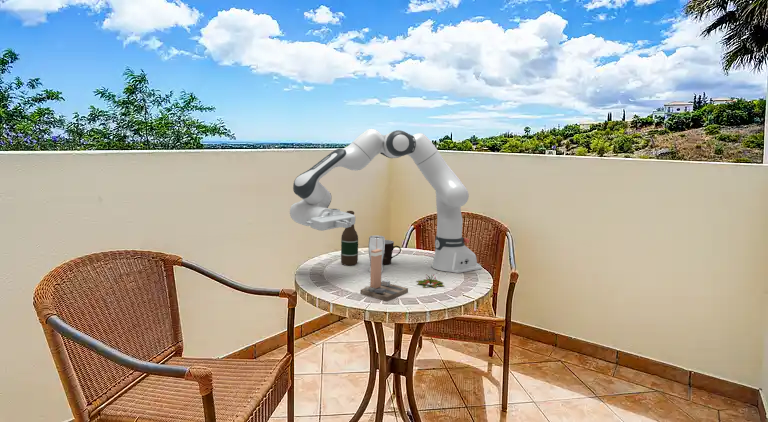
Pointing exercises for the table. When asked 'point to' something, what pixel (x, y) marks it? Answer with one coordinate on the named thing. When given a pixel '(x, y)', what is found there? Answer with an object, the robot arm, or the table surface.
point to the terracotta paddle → (376, 268)
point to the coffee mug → (389, 252)
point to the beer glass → (376, 246)
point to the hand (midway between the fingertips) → (349, 225)
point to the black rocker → (380, 290)
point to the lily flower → (434, 282)
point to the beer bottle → (349, 245)
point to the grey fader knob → (385, 282)
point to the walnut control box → (391, 292)
